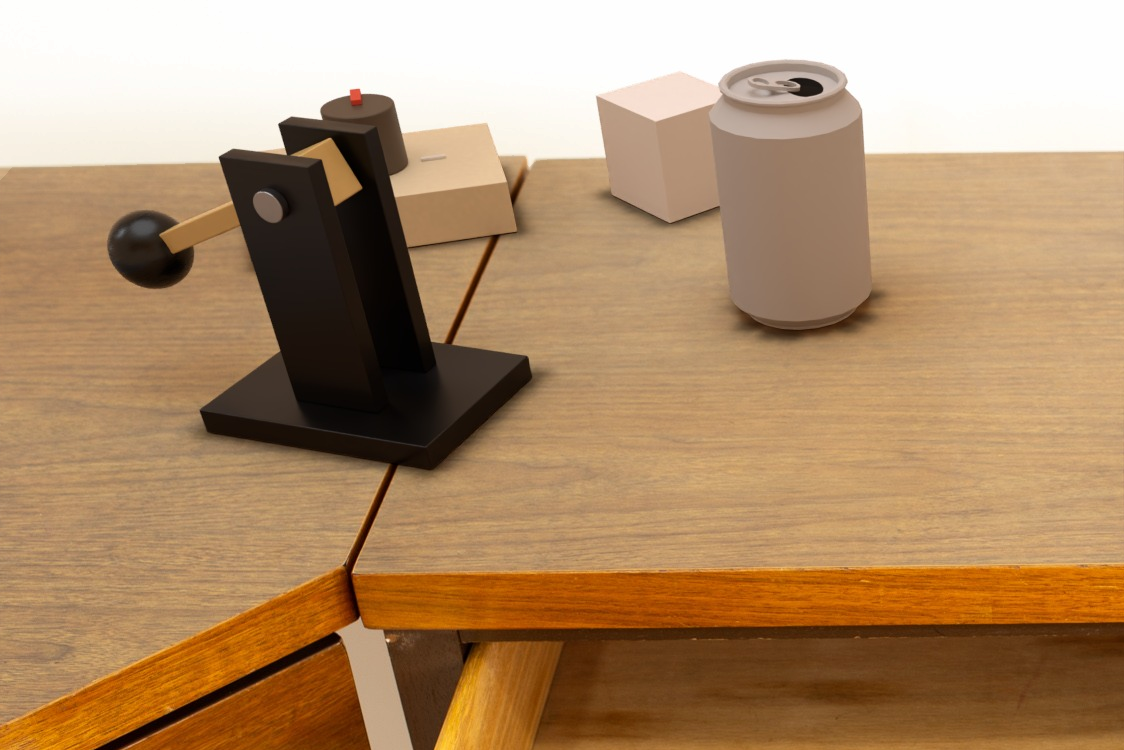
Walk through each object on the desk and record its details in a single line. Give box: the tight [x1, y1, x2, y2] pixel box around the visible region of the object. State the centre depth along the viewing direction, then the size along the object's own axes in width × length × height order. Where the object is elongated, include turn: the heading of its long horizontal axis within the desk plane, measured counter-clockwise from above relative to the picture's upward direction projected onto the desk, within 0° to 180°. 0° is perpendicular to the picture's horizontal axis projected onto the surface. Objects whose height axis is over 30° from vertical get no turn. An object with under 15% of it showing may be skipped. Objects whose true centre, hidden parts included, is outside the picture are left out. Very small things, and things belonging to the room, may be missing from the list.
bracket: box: [198, 115, 533, 470], centre depth 72 cm, size 12×9×13 cm
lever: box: [106, 138, 362, 290], centre depth 71 cm, size 14×4×4 cm, turn 74°
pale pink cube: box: [595, 70, 722, 224], centre depth 94 cm, size 6×6×6 cm
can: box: [709, 58, 873, 331], centre depth 80 cm, size 8×8×12 cm
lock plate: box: [257, 122, 518, 248], centre depth 92 cm, size 14×10×3 cm
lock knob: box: [319, 88, 408, 175], centre depth 90 cm, size 4×4×4 cm
